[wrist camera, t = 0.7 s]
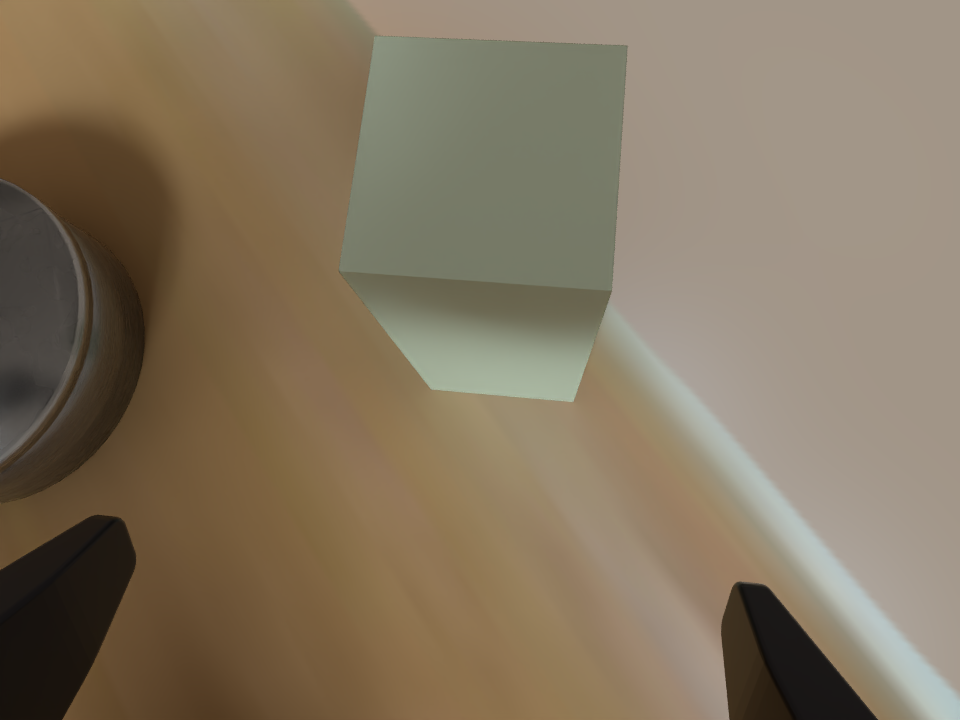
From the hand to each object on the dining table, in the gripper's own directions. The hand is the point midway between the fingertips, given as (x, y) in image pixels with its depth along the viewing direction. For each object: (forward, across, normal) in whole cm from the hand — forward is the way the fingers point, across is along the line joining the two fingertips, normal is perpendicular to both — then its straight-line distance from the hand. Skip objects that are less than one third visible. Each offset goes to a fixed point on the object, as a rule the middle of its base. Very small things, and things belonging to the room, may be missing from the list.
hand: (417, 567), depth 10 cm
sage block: (+15, 0, +4) cm, 15 cm away
